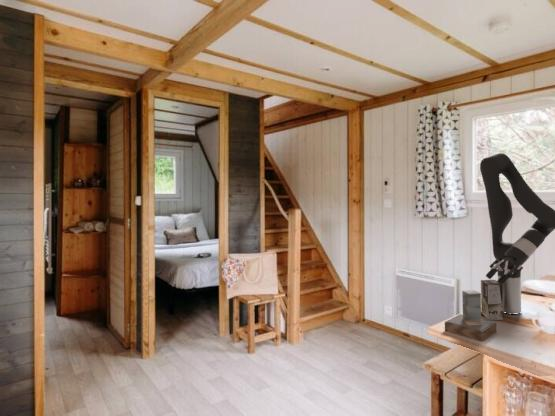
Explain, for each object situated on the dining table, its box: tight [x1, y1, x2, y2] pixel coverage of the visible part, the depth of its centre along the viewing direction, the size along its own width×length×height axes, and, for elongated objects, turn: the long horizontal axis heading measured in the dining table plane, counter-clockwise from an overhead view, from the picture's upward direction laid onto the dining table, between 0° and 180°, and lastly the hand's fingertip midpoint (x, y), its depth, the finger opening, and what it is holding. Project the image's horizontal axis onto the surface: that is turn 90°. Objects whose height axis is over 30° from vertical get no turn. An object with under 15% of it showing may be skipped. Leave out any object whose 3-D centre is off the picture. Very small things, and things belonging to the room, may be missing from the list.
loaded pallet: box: [461, 289, 482, 326], centre depth 153 cm, size 6×6×13 cm
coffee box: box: [480, 279, 504, 321], centre depth 169 cm, size 9×6×16 cm
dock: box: [444, 313, 497, 342], centre depth 155 cm, size 15×13×4 cm
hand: (493, 280), depth 153 cm, fingers open, 8 cm apart
